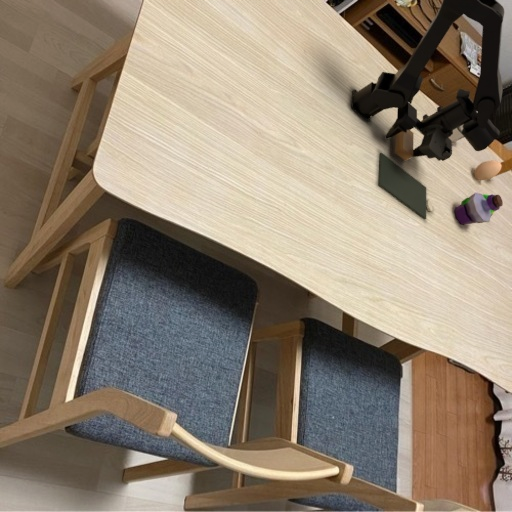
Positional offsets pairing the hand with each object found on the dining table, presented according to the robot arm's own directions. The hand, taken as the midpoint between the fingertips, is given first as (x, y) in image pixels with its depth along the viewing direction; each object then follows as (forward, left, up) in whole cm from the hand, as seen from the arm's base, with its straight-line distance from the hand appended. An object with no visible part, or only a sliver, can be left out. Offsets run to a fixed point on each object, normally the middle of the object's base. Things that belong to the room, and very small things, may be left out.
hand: (397, 146), depth 147 cm
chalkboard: (+3, -11, 0) cm, 11 cm away
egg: (+37, +14, -1) cm, 40 cm away
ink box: (+22, +19, -1) cm, 29 cm away
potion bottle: (+28, -6, -1) cm, 29 cm away
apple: (+38, +2, -1) cm, 38 cm away
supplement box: (+43, +18, -1) cm, 47 cm away
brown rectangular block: (0, 0, 0) cm, 0 cm away
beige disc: (+13, -11, 0) cm, 17 cm away
